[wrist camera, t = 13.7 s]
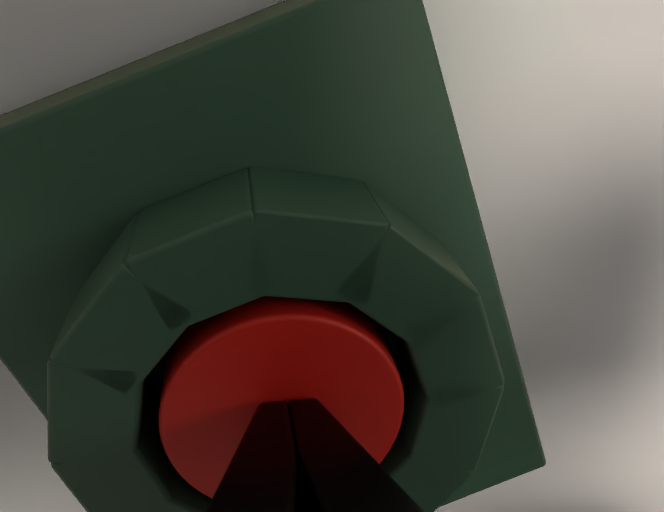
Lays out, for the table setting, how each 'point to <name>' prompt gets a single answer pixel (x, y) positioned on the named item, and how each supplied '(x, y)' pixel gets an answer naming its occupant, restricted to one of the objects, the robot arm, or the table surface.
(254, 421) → the robot arm
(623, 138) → the table surface
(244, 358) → the button
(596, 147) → the table surface
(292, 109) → the button box
